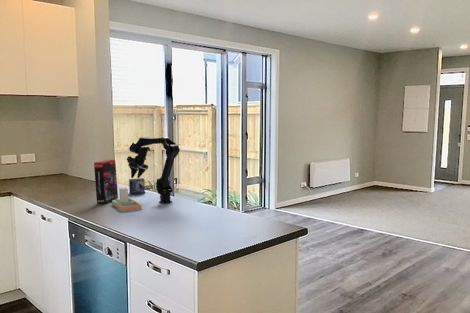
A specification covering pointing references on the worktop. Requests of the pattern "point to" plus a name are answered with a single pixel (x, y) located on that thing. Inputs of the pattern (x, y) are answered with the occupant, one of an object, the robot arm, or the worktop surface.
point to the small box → (137, 186)
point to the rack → (127, 205)
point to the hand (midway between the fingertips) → (135, 177)
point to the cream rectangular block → (123, 194)
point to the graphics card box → (105, 181)
